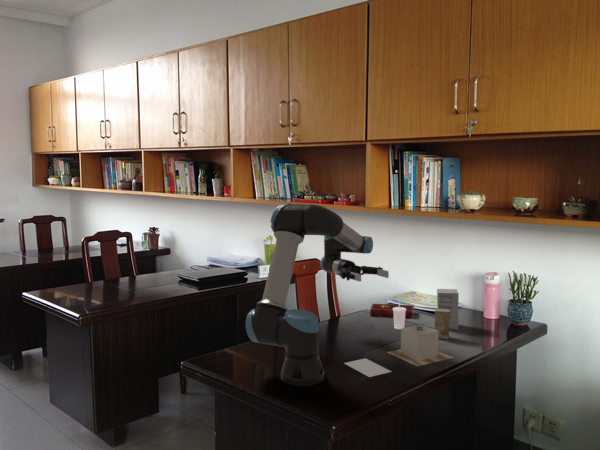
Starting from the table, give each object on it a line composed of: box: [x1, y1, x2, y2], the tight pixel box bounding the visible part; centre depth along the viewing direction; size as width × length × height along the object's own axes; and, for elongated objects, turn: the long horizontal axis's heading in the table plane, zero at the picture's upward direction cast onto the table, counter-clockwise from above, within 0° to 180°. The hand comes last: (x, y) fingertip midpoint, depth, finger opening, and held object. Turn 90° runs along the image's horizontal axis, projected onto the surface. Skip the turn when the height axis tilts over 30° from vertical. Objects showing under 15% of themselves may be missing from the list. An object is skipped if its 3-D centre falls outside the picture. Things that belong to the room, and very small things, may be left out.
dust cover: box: [400, 324, 439, 361], centre depth 209 cm, size 10×10×11 cm
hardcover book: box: [369, 303, 415, 319], centre depth 271 cm, size 12×21×4 cm, turn 76°
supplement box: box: [436, 288, 460, 330], centre depth 248 cm, size 10×9×17 cm
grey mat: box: [343, 358, 393, 378], centre depth 199 cm, size 16×16×1 cm
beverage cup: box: [393, 297, 406, 330], centre depth 247 cm, size 6×6×14 cm
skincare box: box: [433, 308, 450, 340], centre depth 232 cm, size 6×4×12 cm
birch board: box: [386, 348, 454, 367], centre depth 209 cm, size 18×18×1 cm
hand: (374, 276), depth 215 cm, fingers open, 13 cm apart
